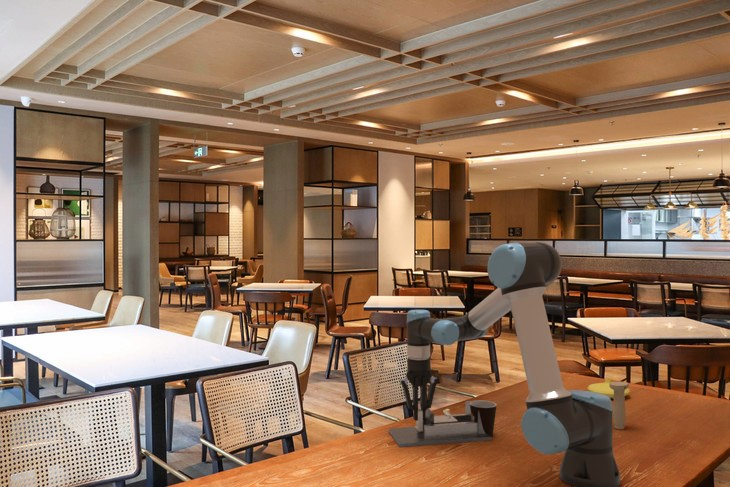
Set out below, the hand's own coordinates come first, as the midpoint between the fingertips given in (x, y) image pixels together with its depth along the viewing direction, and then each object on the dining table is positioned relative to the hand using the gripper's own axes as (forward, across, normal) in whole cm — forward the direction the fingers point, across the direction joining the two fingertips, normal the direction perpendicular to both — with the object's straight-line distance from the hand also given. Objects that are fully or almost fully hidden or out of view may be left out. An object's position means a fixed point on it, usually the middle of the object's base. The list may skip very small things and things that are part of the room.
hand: (419, 430), depth 201 cm
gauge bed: (+2, -6, 0) cm, 7 cm away
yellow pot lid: (+2, -88, -32) cm, 93 cm away
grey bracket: (+1, -8, -3) cm, 8 cm away
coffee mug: (+2, -22, +1) cm, 22 cm away
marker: (+1, -12, -7) cm, 14 cm away
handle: (+2, -68, +6) cm, 68 cm away
